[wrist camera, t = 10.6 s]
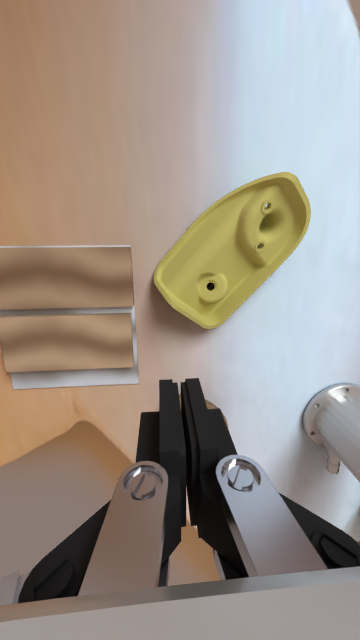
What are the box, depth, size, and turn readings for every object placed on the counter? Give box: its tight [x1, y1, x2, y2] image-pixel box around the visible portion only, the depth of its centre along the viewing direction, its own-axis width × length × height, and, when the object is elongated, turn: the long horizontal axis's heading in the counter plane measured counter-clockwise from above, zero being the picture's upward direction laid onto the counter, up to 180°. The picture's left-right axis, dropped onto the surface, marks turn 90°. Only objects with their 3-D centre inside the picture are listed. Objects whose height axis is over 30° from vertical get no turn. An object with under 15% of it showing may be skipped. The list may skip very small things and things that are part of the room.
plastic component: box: [154, 172, 311, 329], centre depth 34 cm, size 20×7×10 cm
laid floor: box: [0, 245, 139, 389], centre depth 36 cm, size 21×19×1 cm
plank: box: [0, 313, 134, 372], centre depth 36 cm, size 8×18×1 cm, turn 90°
